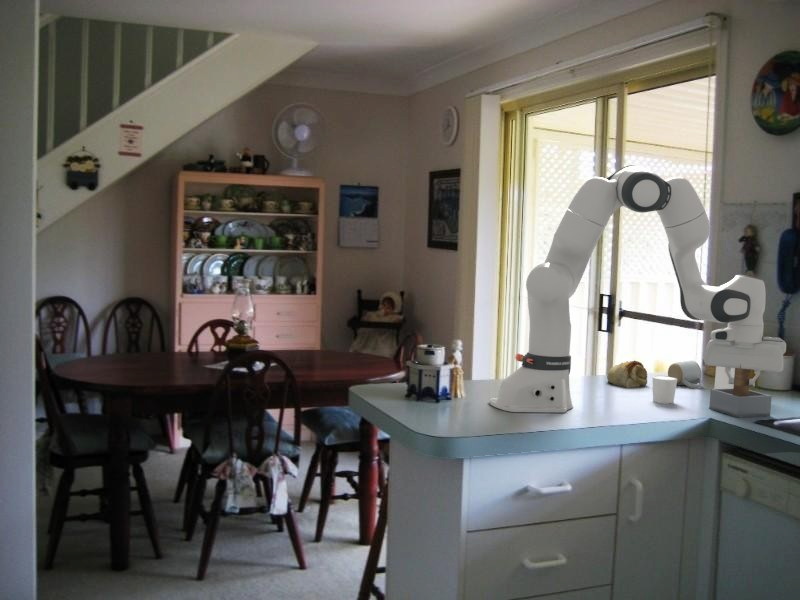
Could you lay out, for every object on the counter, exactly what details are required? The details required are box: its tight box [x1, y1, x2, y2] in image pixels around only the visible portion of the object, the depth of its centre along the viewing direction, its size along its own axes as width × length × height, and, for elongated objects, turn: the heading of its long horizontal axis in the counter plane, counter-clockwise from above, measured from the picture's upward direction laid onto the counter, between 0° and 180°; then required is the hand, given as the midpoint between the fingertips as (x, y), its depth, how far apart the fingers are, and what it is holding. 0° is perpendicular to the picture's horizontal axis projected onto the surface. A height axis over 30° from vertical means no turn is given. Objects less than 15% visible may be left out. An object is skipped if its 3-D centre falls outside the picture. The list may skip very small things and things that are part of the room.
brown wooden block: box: [733, 364, 751, 396], centre depth 233 cm, size 4×2×12 cm, turn 110°
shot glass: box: [651, 375, 677, 405], centre depth 244 cm, size 7×7×7 cm
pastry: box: [606, 360, 648, 389], centre depth 271 cm, size 14×12×8 cm
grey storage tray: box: [708, 388, 773, 418], centre depth 233 cm, size 11×11×6 cm
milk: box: [713, 322, 735, 389], centre depth 258 cm, size 6×6×22 cm
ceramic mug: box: [667, 360, 703, 389], centre depth 272 cm, size 11×8×8 cm
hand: (741, 384), depth 233 cm, fingers closed on brown wooden block, 4 cm apart
